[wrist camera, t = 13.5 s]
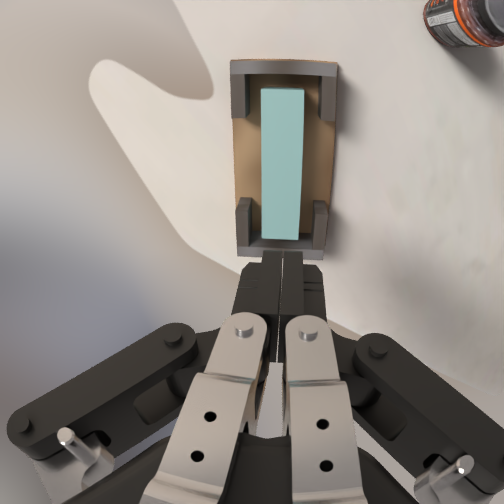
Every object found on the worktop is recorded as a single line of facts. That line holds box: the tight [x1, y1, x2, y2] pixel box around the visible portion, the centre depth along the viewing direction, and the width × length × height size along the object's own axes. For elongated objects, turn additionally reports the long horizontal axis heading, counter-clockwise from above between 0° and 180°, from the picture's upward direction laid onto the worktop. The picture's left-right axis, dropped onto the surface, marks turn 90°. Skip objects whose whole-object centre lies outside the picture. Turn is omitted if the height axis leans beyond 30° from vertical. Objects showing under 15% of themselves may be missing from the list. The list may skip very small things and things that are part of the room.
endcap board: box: [230, 59, 337, 260], centre depth 30 cm, size 10×20×4 cm, turn 1°
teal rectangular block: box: [261, 87, 304, 240], centre depth 29 cm, size 4×14×4 cm, turn 1°
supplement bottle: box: [423, 0, 504, 47], centre depth 16 cm, size 6×6×11 cm
